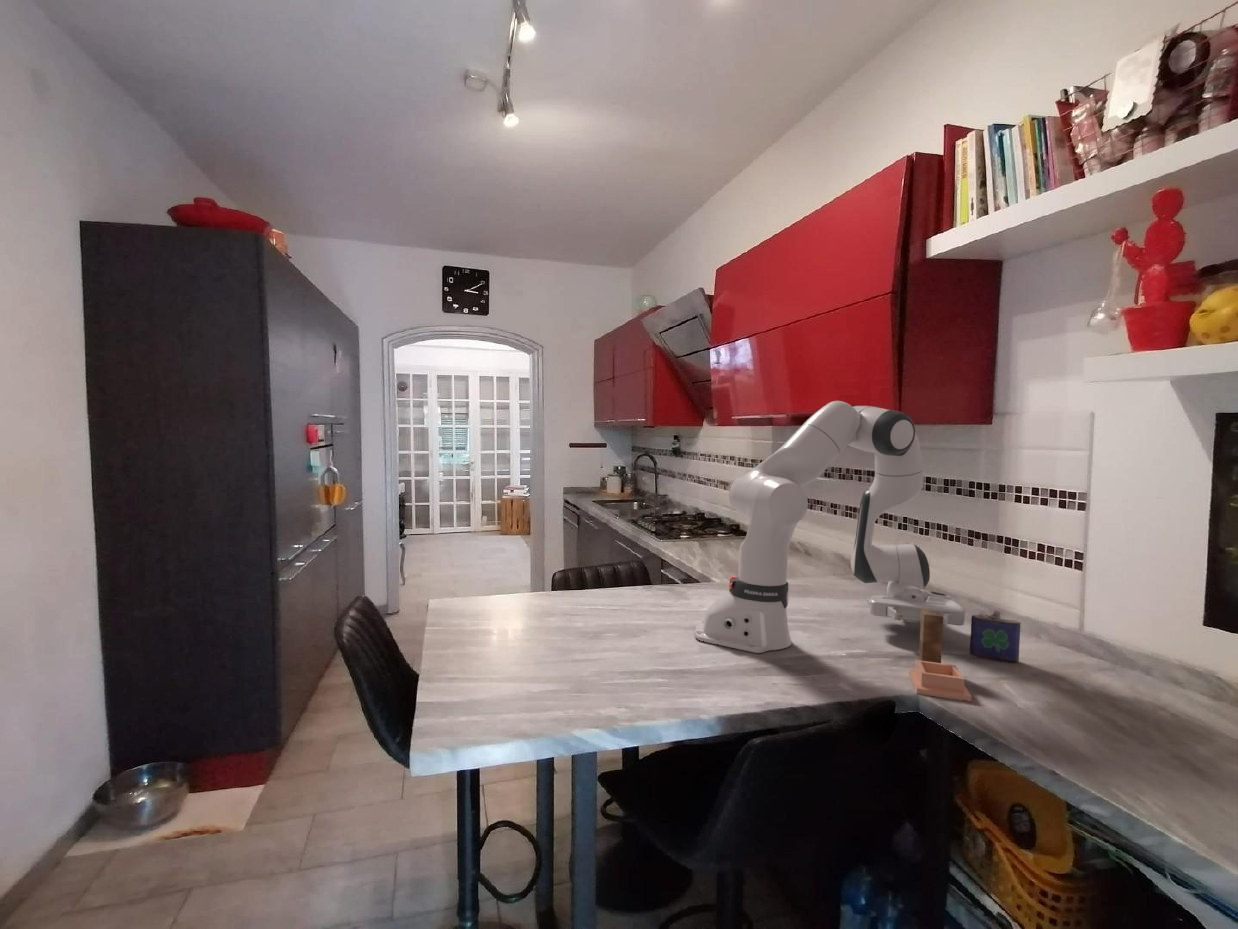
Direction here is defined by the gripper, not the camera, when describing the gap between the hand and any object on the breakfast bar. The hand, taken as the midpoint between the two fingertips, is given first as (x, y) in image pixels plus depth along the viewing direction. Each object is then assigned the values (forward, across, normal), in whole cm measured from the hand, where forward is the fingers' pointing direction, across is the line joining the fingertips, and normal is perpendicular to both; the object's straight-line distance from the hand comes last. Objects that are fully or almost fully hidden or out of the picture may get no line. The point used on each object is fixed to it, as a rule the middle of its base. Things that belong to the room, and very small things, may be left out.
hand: (920, 619), depth 130 cm
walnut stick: (+12, 0, +7) cm, 14 cm away
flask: (-1, +15, +7) cm, 17 cm away
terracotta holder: (+21, 0, +7) cm, 22 cm away
